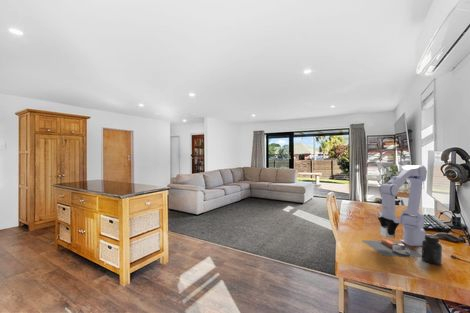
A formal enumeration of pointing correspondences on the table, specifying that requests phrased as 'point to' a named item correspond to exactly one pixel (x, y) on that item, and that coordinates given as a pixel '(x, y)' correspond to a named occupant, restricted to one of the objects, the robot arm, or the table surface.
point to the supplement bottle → (432, 250)
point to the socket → (385, 232)
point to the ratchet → (396, 247)
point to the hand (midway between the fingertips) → (388, 233)
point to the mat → (388, 249)
